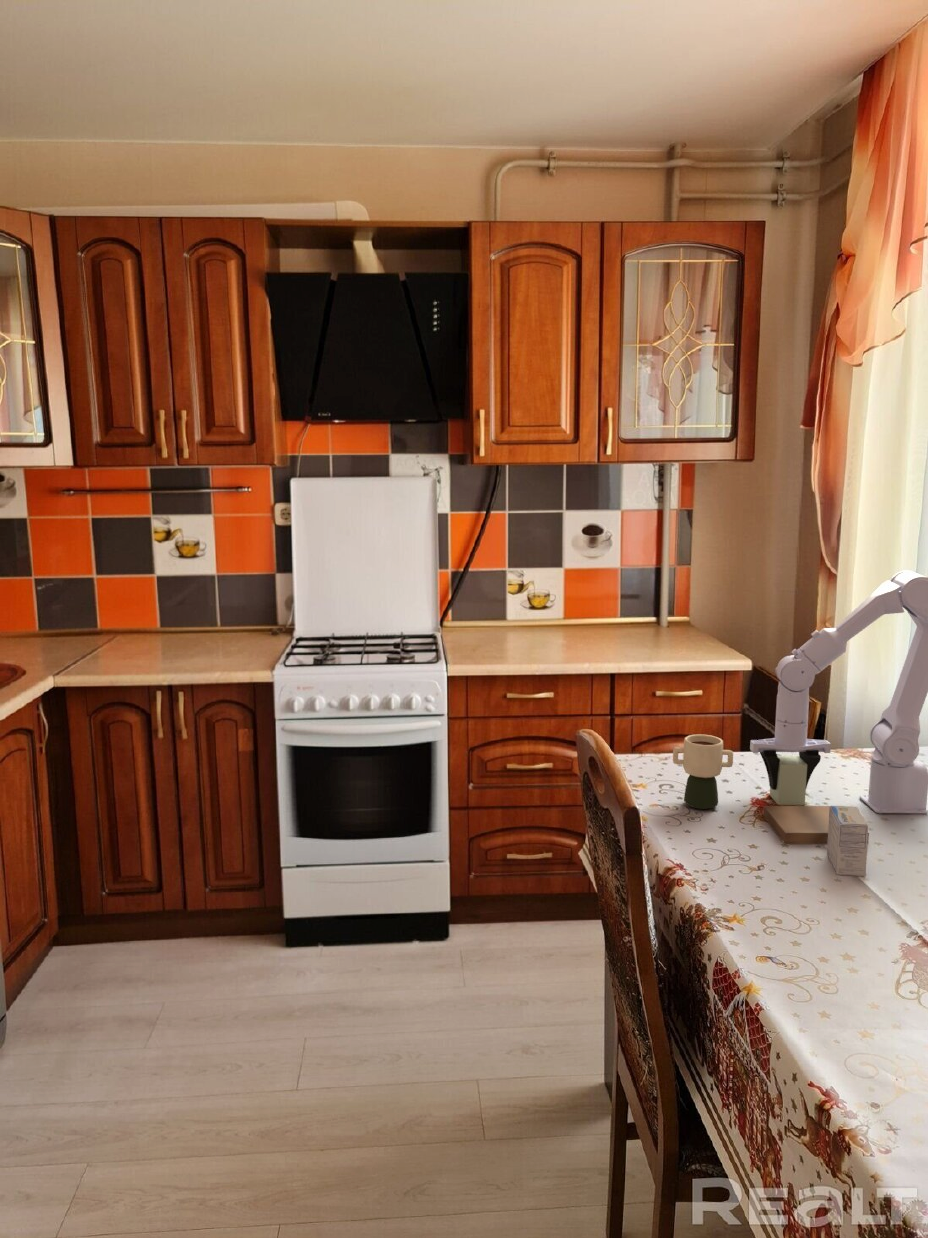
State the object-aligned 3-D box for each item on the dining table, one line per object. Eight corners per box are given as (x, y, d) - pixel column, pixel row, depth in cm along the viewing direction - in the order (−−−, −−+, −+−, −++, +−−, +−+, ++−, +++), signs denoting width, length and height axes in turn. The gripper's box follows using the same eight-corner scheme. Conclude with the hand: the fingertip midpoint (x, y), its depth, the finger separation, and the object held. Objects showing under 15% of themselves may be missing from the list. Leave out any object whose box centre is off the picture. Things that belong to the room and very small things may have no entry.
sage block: (795, 795, 172) (798, 755, 171) (804, 805, 167) (807, 764, 166) (769, 795, 172) (771, 755, 171) (778, 804, 167) (780, 764, 166)
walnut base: (840, 816, 161) (840, 806, 161) (868, 844, 150) (869, 833, 149) (763, 816, 162) (763, 805, 161) (784, 844, 150) (785, 832, 150)
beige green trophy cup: (729, 800, 169) (732, 735, 167) (732, 815, 162) (735, 747, 160) (670, 796, 172) (673, 732, 169) (671, 810, 165) (674, 744, 162)
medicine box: (866, 878, 138) (870, 825, 136) (835, 875, 139) (839, 823, 137) (854, 856, 145) (858, 806, 144) (825, 854, 146) (829, 804, 145)
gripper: (822, 713, 170) (818, 780, 173) (746, 713, 171) (743, 780, 173) (836, 724, 164) (832, 793, 166) (757, 724, 164) (754, 793, 166)
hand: (787, 788), depth 169 cm, fingers closed on sage block, 5 cm apart
